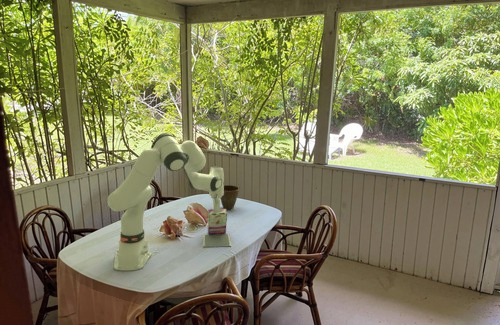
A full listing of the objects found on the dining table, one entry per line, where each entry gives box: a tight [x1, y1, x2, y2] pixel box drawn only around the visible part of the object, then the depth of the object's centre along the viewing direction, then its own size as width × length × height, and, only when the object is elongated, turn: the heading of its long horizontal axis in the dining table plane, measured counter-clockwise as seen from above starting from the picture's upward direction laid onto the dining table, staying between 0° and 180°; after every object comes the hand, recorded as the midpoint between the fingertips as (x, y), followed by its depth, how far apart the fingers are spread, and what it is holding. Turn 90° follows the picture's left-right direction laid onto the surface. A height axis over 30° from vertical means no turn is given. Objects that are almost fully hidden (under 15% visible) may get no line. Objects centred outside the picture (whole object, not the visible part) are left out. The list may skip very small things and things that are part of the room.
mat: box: [202, 233, 232, 248], centre depth 209 cm, size 16×16×1 cm
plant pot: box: [220, 184, 240, 211], centre depth 261 cm, size 15×15×16 cm
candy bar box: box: [207, 208, 228, 235], centre depth 215 cm, size 11×5×16 cm, turn 103°
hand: (216, 213), depth 217 cm, fingers closed
